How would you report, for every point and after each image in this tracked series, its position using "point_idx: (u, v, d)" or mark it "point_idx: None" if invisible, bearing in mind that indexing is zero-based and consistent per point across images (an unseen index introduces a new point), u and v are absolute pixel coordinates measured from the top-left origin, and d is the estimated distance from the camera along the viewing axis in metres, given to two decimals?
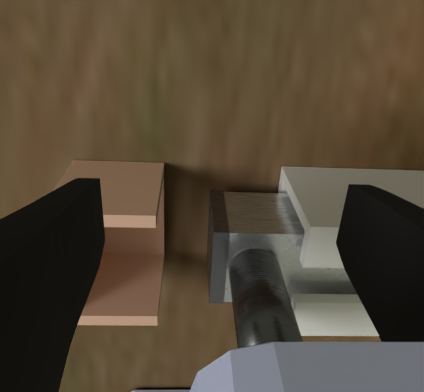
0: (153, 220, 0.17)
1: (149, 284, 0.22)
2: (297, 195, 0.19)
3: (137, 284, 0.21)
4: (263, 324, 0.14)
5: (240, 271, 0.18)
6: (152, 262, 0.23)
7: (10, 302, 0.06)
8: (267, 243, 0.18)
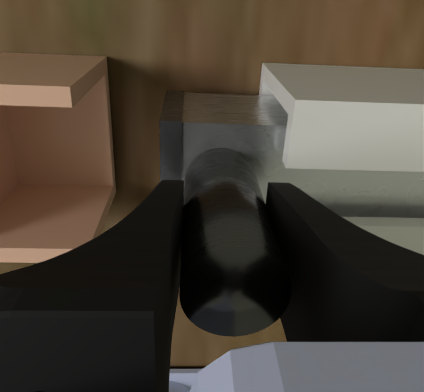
0: (68, 93, 0.12)
1: (86, 215, 0.16)
2: (279, 79, 0.14)
3: (70, 215, 0.16)
4: (217, 221, 0.09)
5: (196, 172, 0.12)
6: (96, 193, 0.18)
7: (164, 303, 0.06)
8: (237, 139, 0.13)
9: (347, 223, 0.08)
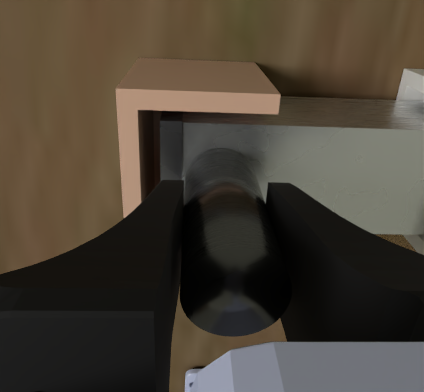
0: (277, 101, 0.12)
1: None
2: None
3: None
4: (217, 221, 0.09)
5: (196, 172, 0.12)
6: None
7: (164, 303, 0.06)
8: (237, 139, 0.13)
9: (347, 223, 0.08)
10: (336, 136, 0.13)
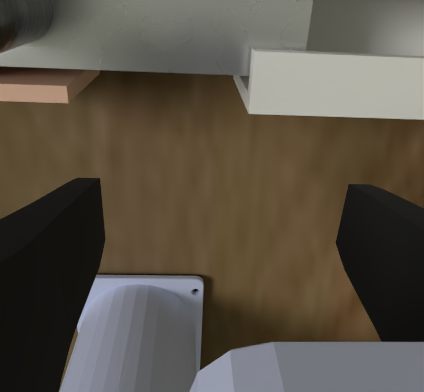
0: None
1: (67, 72, 0.16)
2: None
3: (50, 72, 0.16)
4: None
5: None
6: None
7: (10, 302, 0.06)
8: None
9: None
10: None
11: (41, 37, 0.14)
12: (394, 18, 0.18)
